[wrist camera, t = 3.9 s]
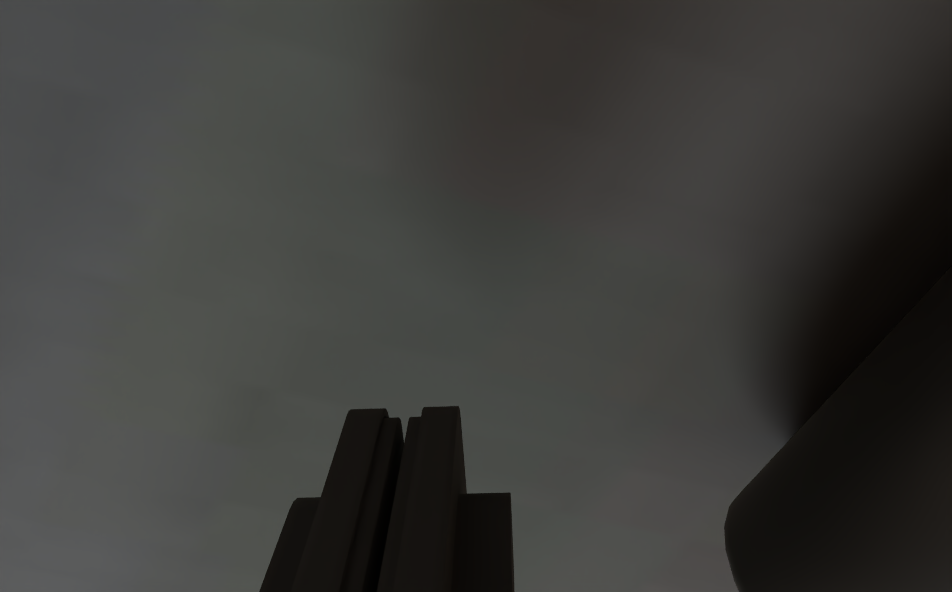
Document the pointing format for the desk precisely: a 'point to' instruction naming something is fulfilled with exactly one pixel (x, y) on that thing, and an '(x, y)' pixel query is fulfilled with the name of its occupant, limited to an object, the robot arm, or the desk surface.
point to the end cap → (861, 477)
